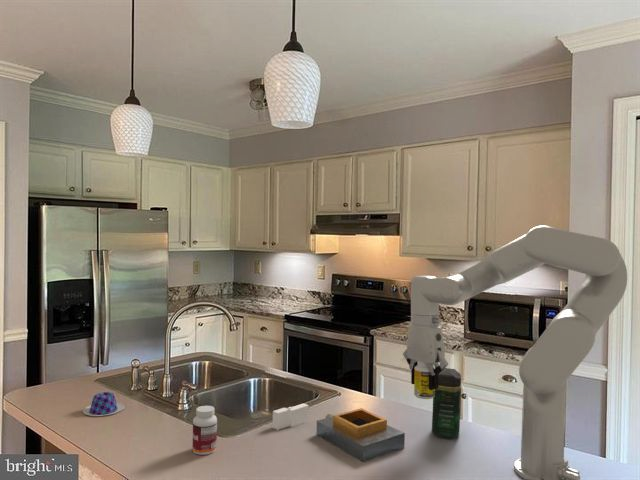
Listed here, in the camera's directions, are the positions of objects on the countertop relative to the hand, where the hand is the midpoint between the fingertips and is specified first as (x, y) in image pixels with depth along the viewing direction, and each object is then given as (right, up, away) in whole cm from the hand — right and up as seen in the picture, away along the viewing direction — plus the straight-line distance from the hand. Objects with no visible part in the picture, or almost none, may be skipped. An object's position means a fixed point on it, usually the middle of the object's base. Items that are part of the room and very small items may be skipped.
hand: (424, 385), depth 132 cm
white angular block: (-38, -16, +12) cm, 43 cm away
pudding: (-97, -14, +20) cm, 100 cm away
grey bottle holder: (-19, -16, +3) cm, 25 cm away
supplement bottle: (0, -3, 0) cm, 3 cm away
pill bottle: (-59, -15, -7) cm, 61 cm away
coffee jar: (+8, -17, +8) cm, 20 cm away
